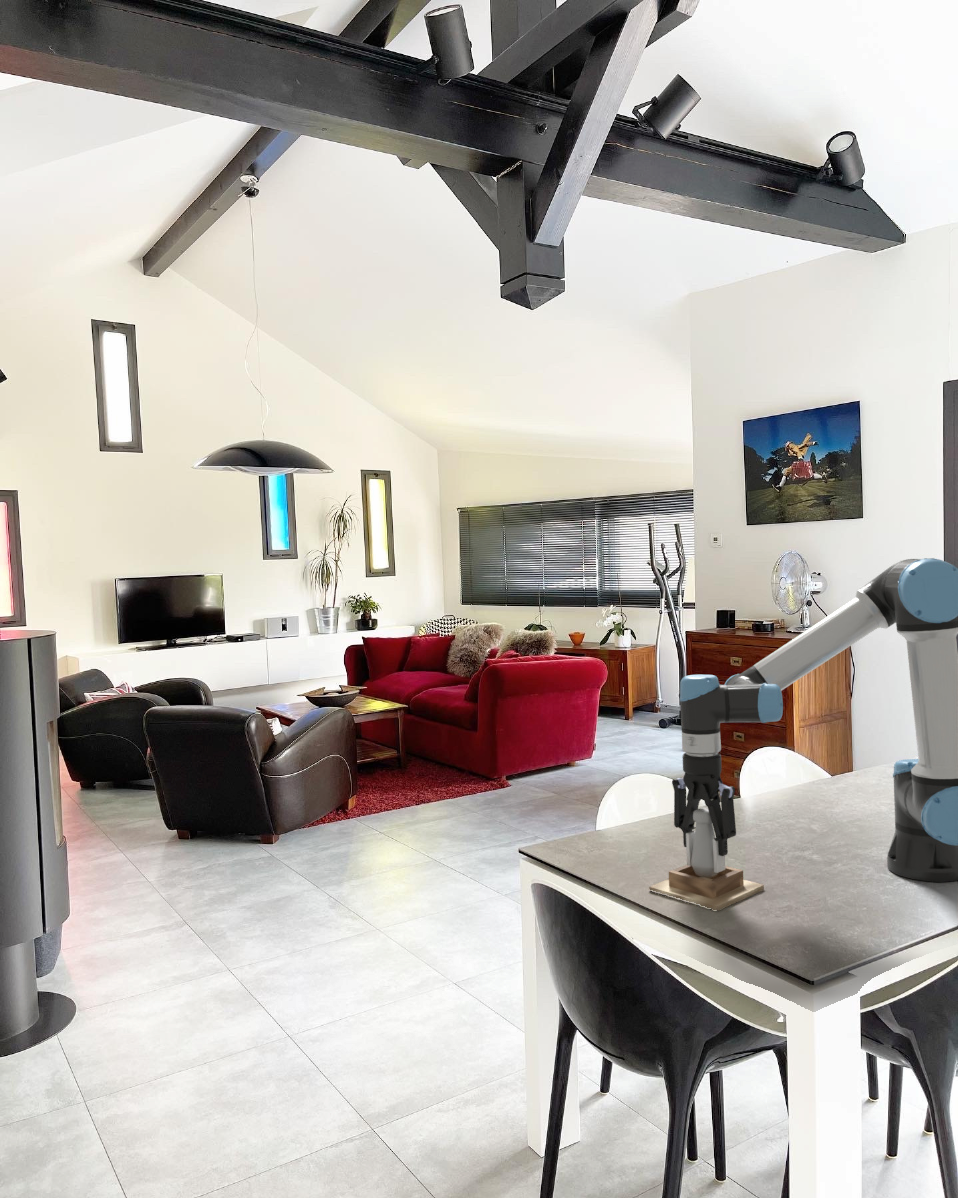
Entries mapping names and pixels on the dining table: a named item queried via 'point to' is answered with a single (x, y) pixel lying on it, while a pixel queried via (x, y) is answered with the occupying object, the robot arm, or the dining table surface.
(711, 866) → the salt shaker
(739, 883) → the collar board
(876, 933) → the dining table surface
